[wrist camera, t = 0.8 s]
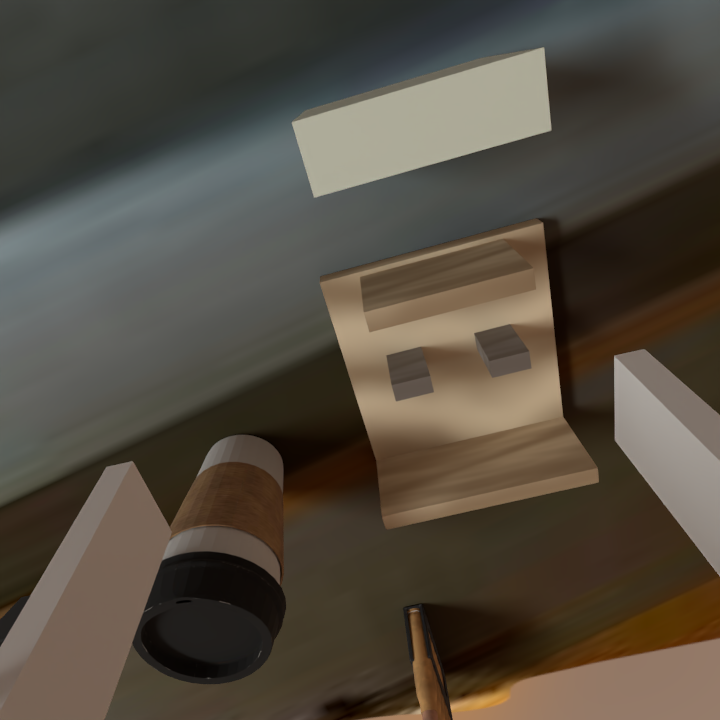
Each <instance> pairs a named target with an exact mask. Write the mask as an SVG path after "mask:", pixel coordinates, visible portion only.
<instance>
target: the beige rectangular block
mask: <svg viewBox="0 0 720 720" xmlns="http://www.w3.org/2000/svg"><path fill="white" fill-rule="evenodd" d="M292 125H293V128H294V132H295V135H296V138H297V142H298V145H299V148H300V152H301V155H302V158H303V162H304V165H305V168H306V172H307V175H308V178H309V182H310V185H311V188H312V192H313V195H314V198H315V197H318V196H322V195H325V194H329V193H332V192H336V191H339V190H343V189H346V188H350V187H354V186H357V185H361V184H364V183H368V182H371V181H375V180H378V179H382V178H385V177H389V176H392V175H396V174H399V173H403V172H407V171H410V170H414V169H417V168H421V167H424V166H428V165H431V164H435V163H438V162H442V161H445V160H449V159H452V158H456V157H459V156H463V155H467V154H470V153H474V152H477V151H481V150H484V149H488V148H491V147H495V146H498V145H502V144H505V143H509V142H512V141H516V140H520V139H523V138H527V137H530V136H534V135H537V134H541V133H544V132H548V131H551V120H550V109H549V97H548V86H547V75H546V64H545V53H544V47H543V48H537V49H531V50H525V51H519V52H514V53H508V54H502V55H496V56H490V57H484V58H480V59H476V60H473V61H469V62H466V63H463V64H459V65H456V66H453V67H449V68H446V69H443V70H439V71H436V72H433V73H429V74H426V75H423V76H419V77H416V78H412V79H409V80H406V81H402V82H399V83H396V84H392V85H389V86H386V87H382V88H379V89H376V90H372V91H369V92H366V93H362V94H359V95H356V96H352V97H349V98H345V99H342V100H339V101H335V102H332V103H329V104H325V105H322V106H319V107H315V108H312V109H309V110H305V111H304V112H303V113H302V114H301V115H300V116H298V117H297V118H296V119H295V120H294V121H293V122H292Z"/></svg>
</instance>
